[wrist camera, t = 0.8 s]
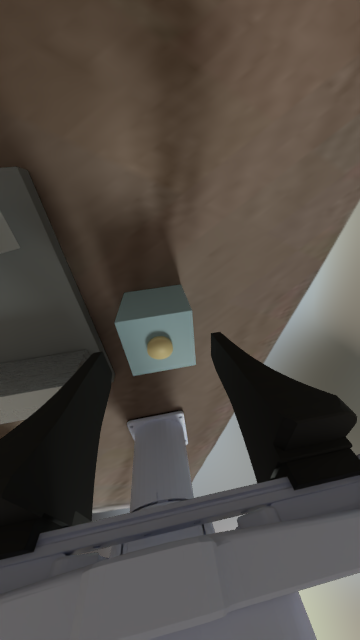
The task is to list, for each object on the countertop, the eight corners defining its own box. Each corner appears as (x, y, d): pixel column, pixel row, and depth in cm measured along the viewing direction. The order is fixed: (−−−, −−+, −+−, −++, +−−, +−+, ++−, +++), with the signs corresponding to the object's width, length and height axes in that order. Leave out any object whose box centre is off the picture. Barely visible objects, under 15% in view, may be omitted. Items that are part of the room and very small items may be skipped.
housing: (185, 329, 18) (196, 368, 14) (137, 337, 18) (132, 380, 13) (180, 284, 16) (193, 313, 11) (124, 292, 15) (113, 326, 11)
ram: (97, 371, 18) (85, 408, 15) (-7, 389, 17) (-44, 432, 14) (86, 349, 16) (70, 384, 13) (-29, 368, 16) (-77, 410, 12)
